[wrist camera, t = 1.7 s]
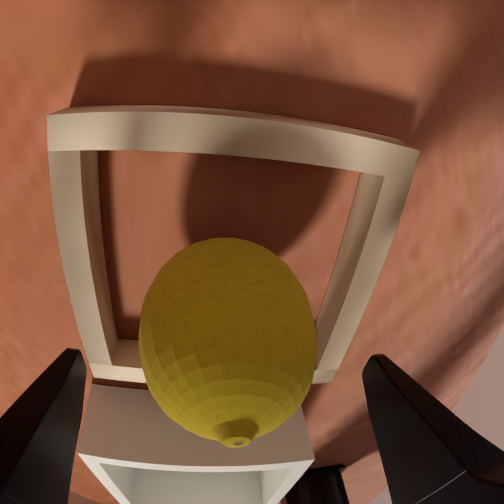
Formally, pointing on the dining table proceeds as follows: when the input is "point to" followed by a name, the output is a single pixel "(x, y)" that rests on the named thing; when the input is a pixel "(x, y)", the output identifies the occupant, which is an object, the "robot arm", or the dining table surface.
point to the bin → (184, 455)
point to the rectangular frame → (222, 143)
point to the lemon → (227, 340)
